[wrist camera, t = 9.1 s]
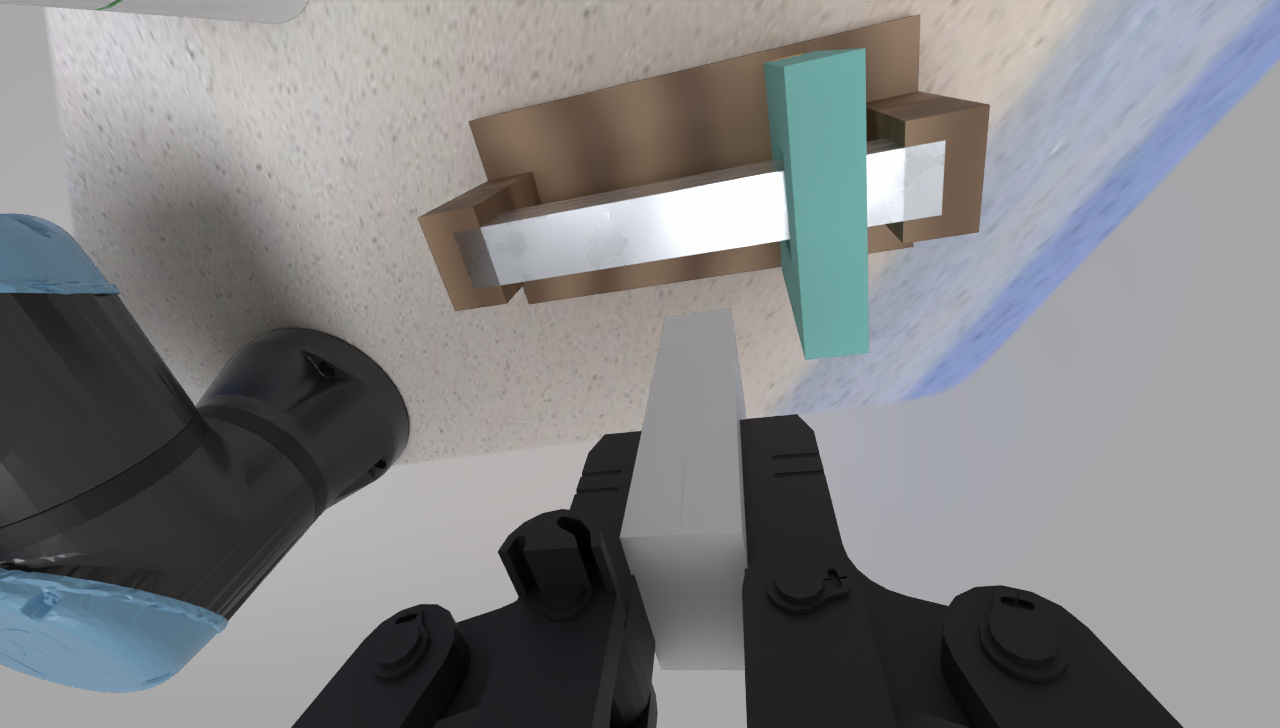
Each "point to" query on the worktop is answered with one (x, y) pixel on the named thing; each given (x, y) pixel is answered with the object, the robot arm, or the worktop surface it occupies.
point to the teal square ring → (823, 195)
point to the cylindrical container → (187, 8)
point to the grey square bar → (686, 216)
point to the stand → (696, 159)
